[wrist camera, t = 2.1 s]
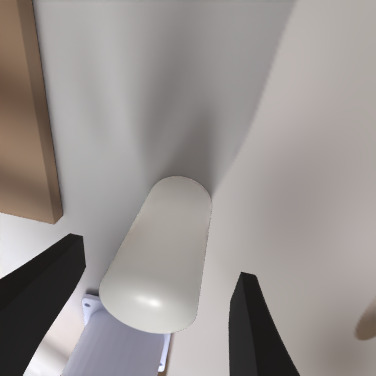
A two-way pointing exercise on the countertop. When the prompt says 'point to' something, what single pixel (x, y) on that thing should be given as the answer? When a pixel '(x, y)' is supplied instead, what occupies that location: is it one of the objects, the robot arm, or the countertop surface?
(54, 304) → the robot arm
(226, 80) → the countertop surface
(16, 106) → the holder board
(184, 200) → the white tube
